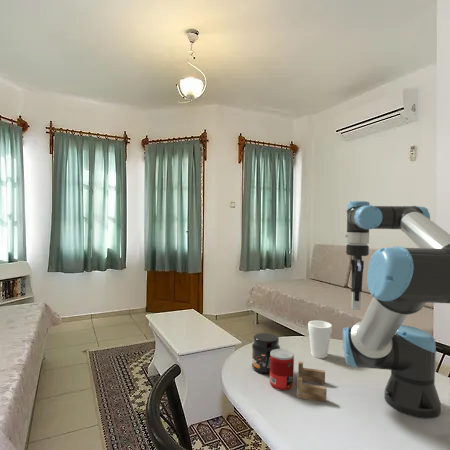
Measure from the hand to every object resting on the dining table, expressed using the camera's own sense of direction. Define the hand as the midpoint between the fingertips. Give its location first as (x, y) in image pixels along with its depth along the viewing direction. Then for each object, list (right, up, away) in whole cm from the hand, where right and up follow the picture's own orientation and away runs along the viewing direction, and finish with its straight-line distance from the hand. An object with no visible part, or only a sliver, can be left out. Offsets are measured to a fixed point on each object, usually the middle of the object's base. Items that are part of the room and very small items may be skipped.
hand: (355, 309), depth 118 cm
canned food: (-28, -24, -7) cm, 38 cm away
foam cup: (-8, -24, +18) cm, 31 cm away
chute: (-19, -24, -9) cm, 32 cm away
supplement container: (-32, -24, +6) cm, 40 cm away
